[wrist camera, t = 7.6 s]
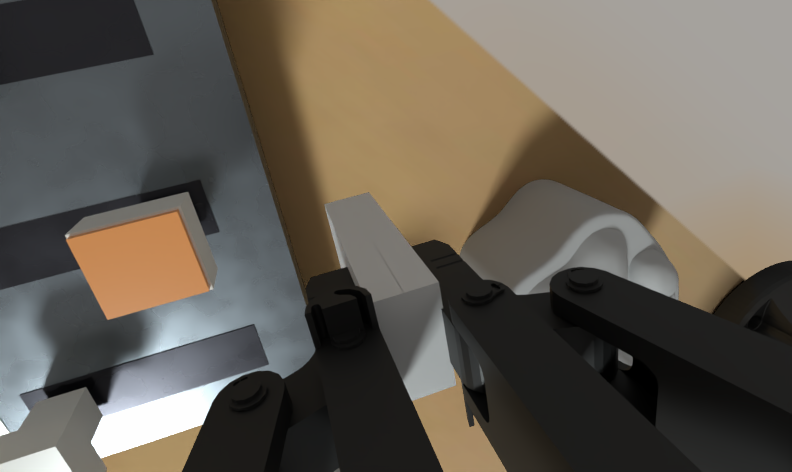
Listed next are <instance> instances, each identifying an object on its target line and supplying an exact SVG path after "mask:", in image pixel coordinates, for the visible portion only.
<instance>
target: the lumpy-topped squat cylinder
mask: <svg viewBox="0 0 792 472" xmlns="http://www.w3.org/2000/svg"><path fill="white" fill-rule="evenodd" d="M460 257H461V258H462V259H463V261H465V262H466V263H467V264H468V265H469V266H470V267H471V268H472V269H473V270H474V271H475V272H476V273H477V274H478V275H479V276H480V277H481V278H482V279H483V280H494V281H498V282H501V283H503V284H504V285H506V286H508V287H509V288H510V289H511V290H512V291H513V292H514V293H515V294H516V295H525V294H536V293H545V292H550V285H549V284H550V281H551V278H552V277H553V276H554V275H555V274H557V273H558V272H560V271H563V270H566V269H569V268H574V267H575V268H576V267H589V268H597V269H600V270H604V271H607V272H610V273H612V274H614V275H617V276H619V277H622V278H624V279H627V280H629V281H632V282H634V283H637V284H639V285H642V286H644V287H646V288H649V289H651V290H654V291H656V292H659V293H661V294H664V295H666V296H669V297H671V298H674V299H676V300H678V294H679V287H678V281H679V280H678V274H677V271H676V269H675V268H674V266H673V264H672V263H671V262H670V261H669V259H668V258H667V256H666V254H665V253H664V251H663V250H662V248H661V246H660V245H659V244H658V242H657V241H656V240H655V239H654V238H653V237H652V236H651V234H650V233H649V232H648V230H647V229H646V228H645V227H644V226H643V225H642V224H641V223H640V221H638V220H637V219H636V218H635V217H633V216H632V215H630V214H629V213H627V212H624V211H622V210H619V209H617V208H615V207H613V206H611V205H608V204H606V203H604V202H602V201H599V200H597V199H595V198H593V197H590V196H588V195H586V194H584V193H581V192H579V191H577V190H574V189H572V188H570V187H568V186H565V185H563V184H561V183H558V182H556V181H553V180H545V179H542V180H535V181H532V182H529V183H527V184H526V185H524V186H523V187H522V188H520V189H519V190H518V191H517V192H516V193H515V194H514V196H513V197H512V198H511V199H510V200H509V202H508V203H507V204H506V206H505V207H504V208H503V209H502V210H501V211H500V213H499V214H498V215H496V216H495V217H494V218H493V219H492V220H491V221H489V222H488V223H487V224H485V225H484V226H482V227H481V228H480V229H478V230H477V231H476V232H474V233H473V234H472V235H471V236H470V237H469V238H468V239H467V241H466V242H465V244H464V245H463V247H462V249H461V252H460ZM618 360H619V361H621V362H623V363H625V364H627V365H630V366H632V363H633V357H632V356H631V355H629V354H627V353H625V352H623V351H622V350H620V349H618Z"/></svg>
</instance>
